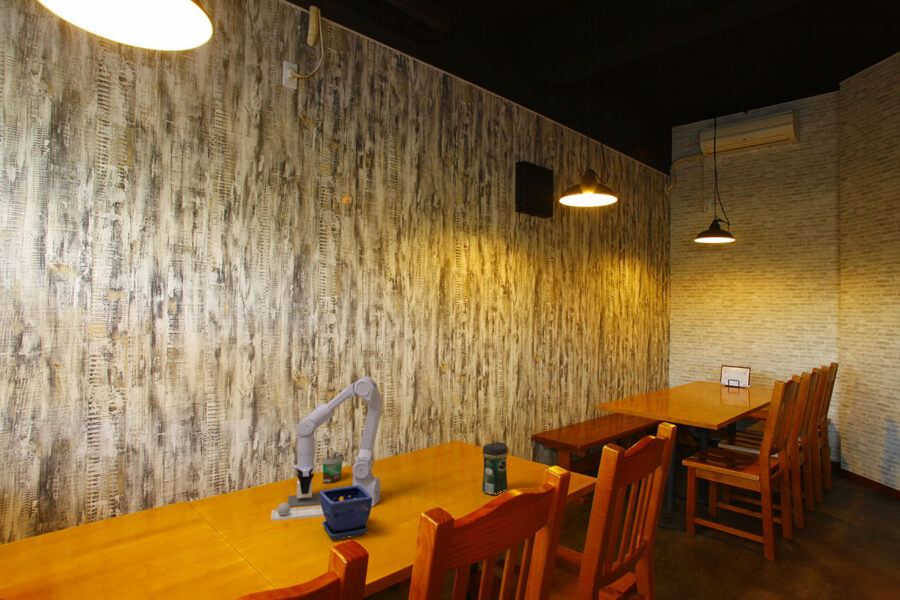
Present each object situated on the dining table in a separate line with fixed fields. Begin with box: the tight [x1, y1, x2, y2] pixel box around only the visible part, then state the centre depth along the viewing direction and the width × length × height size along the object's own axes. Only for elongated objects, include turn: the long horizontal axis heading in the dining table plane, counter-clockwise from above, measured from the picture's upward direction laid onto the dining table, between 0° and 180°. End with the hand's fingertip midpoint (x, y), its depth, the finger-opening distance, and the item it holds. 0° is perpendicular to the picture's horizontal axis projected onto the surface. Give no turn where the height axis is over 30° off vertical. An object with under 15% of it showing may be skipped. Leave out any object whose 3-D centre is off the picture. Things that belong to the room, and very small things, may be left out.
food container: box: [321, 451, 345, 485], centre depth 210 cm, size 12×6×10 cm, turn 168°
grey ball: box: [277, 502, 291, 516], centre depth 171 cm, size 4×4×4 cm
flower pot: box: [319, 485, 372, 540], centre depth 159 cm, size 13×13×12 cm
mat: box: [287, 492, 321, 508], centre depth 185 cm, size 11×11×1 cm
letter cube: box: [296, 478, 313, 498], centre depth 185 cm, size 5×5×5 cm
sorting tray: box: [270, 505, 325, 522], centre depth 173 cm, size 22×8×1 cm, turn 107°
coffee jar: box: [481, 441, 508, 495], centre depth 199 cm, size 10×8×19 cm
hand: (304, 491), depth 185 cm, fingers closed on letter cube, 5 cm apart
